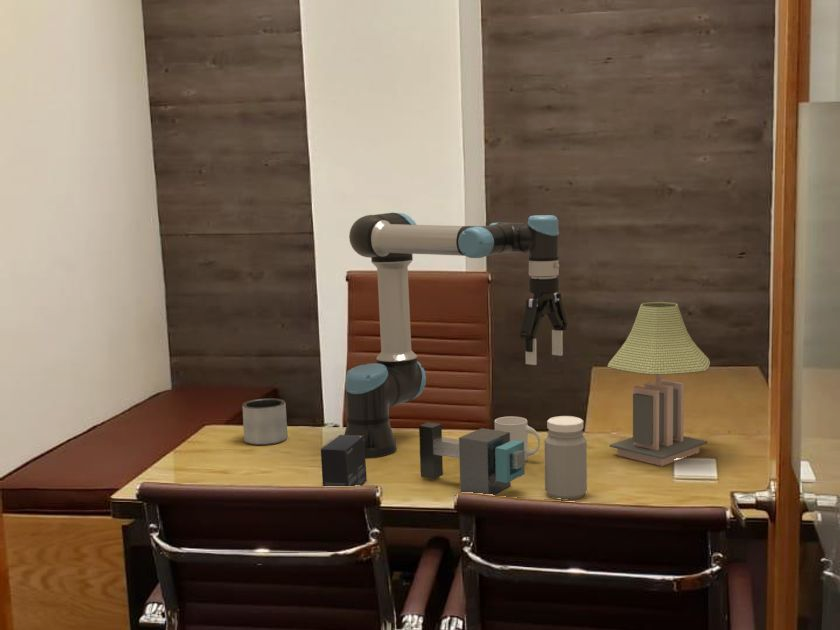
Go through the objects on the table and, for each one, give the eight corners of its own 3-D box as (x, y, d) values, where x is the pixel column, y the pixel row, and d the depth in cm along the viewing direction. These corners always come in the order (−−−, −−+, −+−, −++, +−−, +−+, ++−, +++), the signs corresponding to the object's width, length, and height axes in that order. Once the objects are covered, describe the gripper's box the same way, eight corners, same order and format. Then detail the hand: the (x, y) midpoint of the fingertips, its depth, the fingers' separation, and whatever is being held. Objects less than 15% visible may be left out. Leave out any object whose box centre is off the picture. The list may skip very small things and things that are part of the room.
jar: (544, 487, 247) (543, 415, 245) (585, 487, 246) (585, 414, 244) (545, 501, 238) (544, 425, 235) (588, 501, 237) (587, 425, 234)
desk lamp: (675, 475, 254) (676, 315, 248) (585, 453, 275) (584, 305, 269) (732, 453, 270) (734, 303, 264) (643, 434, 291) (644, 294, 285)
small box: (341, 479, 259) (339, 433, 257) (367, 481, 257) (365, 435, 255) (322, 496, 246) (319, 448, 244) (348, 498, 244) (346, 449, 242)
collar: (495, 481, 240) (495, 447, 239) (513, 472, 247) (513, 439, 245) (506, 483, 238) (506, 449, 237) (524, 474, 245) (523, 441, 244)
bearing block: (460, 492, 246) (458, 437, 244) (483, 481, 254) (481, 428, 252) (488, 498, 241) (487, 442, 239) (510, 486, 249) (509, 432, 247)
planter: (245, 436, 303) (243, 399, 302) (288, 433, 305) (286, 396, 303) (242, 447, 291) (240, 409, 289) (287, 445, 292) (285, 406, 291)
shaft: (420, 476, 256) (419, 425, 254) (430, 472, 259) (428, 422, 257) (517, 495, 240) (516, 441, 238) (525, 491, 243) (524, 437, 241)
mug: (536, 466, 265) (536, 426, 263) (491, 463, 268) (490, 423, 267) (543, 457, 273) (543, 417, 271) (499, 454, 277) (498, 415, 275)
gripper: (531, 283, 246) (532, 369, 249) (580, 272, 266) (580, 352, 269) (505, 281, 251) (506, 366, 254) (554, 271, 270) (555, 350, 274)
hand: (544, 359), depth 262 cm, fingers open, 13 cm apart
